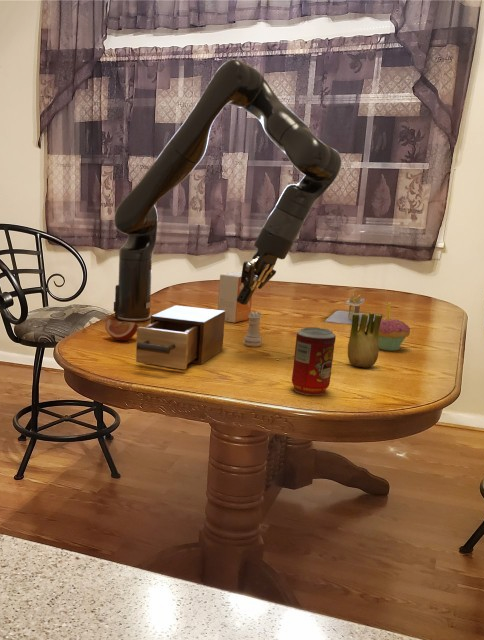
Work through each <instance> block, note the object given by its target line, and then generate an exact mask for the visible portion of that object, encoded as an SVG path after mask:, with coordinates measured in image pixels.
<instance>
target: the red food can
mask: <svg viewBox="0 0 484 640" xmlns="http://www.w3.org/2000/svg"><path fill="white" fill-rule="evenodd" d="M335 344H336V335H335V333H334V332H333V330H330V329H329V328H321V327H316V326H315V327H313V326H307V327H303V328H301V329H299V330H298V331H297V332H296V339H295V347H294V356H293V364H292V365H293V366H292V375H291V383H292V385H293V388H294V389H293V390H294V391H295V392H296V393H298V394H301V395H306V396H321V395H324V394H325V393H326V390H327V389H328V388H329V386H330V384H331V377H332V376H331V375H332V367H333V361H334V353H335Z"/></svg>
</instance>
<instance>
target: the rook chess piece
mask: <svg viewBox="0 0 484 640" xmlns="http://www.w3.org/2000/svg"><path fill="white" fill-rule="evenodd" d="M248 317H249V319H248V328H247V332H246V333H245V336H244V337H243V340H244V341H243V345H244V346H246V347H250V348H257V347H261V346H262V345H263V343H262V341H263V338H262V337H261V333H260V324H261V321H260V320H261V319H262V316H261V312H259V311H257V312H256V311H251V312H250V315H249V316H248Z"/></svg>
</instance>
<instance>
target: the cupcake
mask: <svg viewBox="0 0 484 640" xmlns="http://www.w3.org/2000/svg"><path fill="white" fill-rule="evenodd" d="M391 306H392V303H391V301H390V299H388V303H387V308H386V318H385V319H384V318H382V319H381V323H380V328H379V350H383V351H388V352H389V351H392V352H393V351H399V349H400V348H401V345H402V343H403V342H404V340H405V339H406V338H408V337H409V336H410V335H411V327H410V326H409V325H408V324H406V323H405V322H404V321H401V320H400V319H395V318H391V308H392V307H391Z"/></svg>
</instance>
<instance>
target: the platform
mask: <svg viewBox="0 0 484 640" xmlns="http://www.w3.org/2000/svg"><path fill="white" fill-rule="evenodd" d="M365 301H366V298H361V294H359V295H358V296H356V297H355V293H353V294H352V295H351V296H350V297H349V299H347V300H346V301H345V305H348V307H349V308H348V311H346V310H338V309H337V310H336V311H335V312H333V314H331V315H330V316H329V317H327V319H325V322H326V323H334V324H335V323H337V324H343V325H352V317H353V314H354V313H357V314H359V321H358V326H360V322H361V317H362V314H364V313H365V312H360V309H361V305H362V304H363V303H364V302H365ZM367 314H368V319H369V313H367ZM376 314H377V313H374V319H375V315H376ZM368 319H367V324H368ZM374 319H373V321H374ZM367 324H366V327H367Z"/></svg>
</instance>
